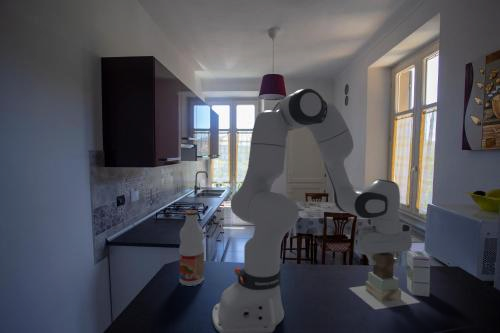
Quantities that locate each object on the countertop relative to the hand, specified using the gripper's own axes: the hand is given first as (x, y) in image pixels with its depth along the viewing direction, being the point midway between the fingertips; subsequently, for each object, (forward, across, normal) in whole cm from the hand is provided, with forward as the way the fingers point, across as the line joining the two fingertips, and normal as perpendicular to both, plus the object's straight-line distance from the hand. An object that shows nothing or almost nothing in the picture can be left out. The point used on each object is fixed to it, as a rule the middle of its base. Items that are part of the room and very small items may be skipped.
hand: (383, 264), depth 93 cm
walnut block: (+4, 0, 0) cm, 4 cm away
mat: (+12, 0, 0) cm, 12 cm away
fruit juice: (+12, -66, +26) cm, 72 cm away
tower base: (+11, 0, 0) cm, 11 cm away
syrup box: (+12, +14, -1) cm, 18 cm away
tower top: (+8, 0, 0) cm, 8 cm away
